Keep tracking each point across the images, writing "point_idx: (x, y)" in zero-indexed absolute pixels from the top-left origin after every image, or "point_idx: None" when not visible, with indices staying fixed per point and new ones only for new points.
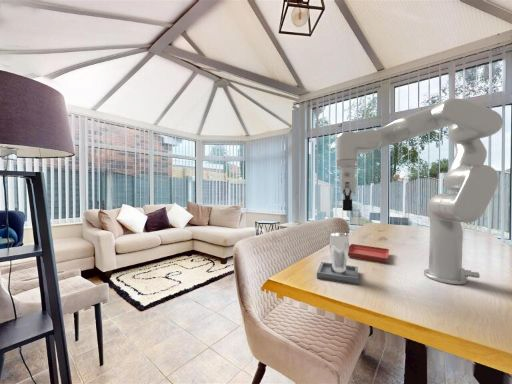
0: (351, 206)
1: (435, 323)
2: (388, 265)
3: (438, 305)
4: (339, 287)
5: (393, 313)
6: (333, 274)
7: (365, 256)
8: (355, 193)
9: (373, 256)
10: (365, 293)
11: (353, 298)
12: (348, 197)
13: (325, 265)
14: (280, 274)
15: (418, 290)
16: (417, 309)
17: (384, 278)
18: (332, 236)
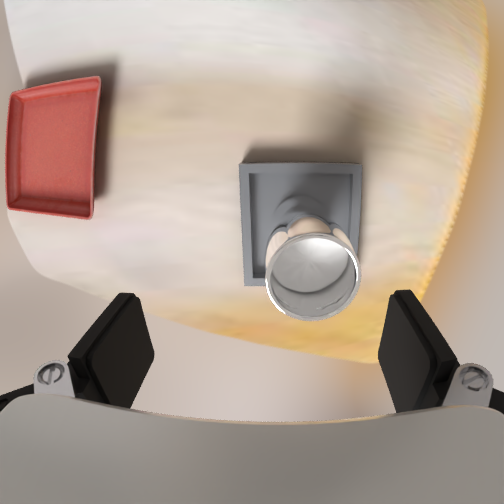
0: (422, 316)
1: (468, 49)
2: (123, 74)
3: (391, 5)
4: (391, 214)
5: (468, 110)
6: (354, 238)
7: (95, 147)
8: (426, 411)
9: (96, 120)
10: (404, 150)
11: (438, 182)
12: (496, 402)
13: (253, 268)
14: (350, 358)
15: (319, 14)
16: (433, 55)
17: (263, 83)
18: (341, 305)
